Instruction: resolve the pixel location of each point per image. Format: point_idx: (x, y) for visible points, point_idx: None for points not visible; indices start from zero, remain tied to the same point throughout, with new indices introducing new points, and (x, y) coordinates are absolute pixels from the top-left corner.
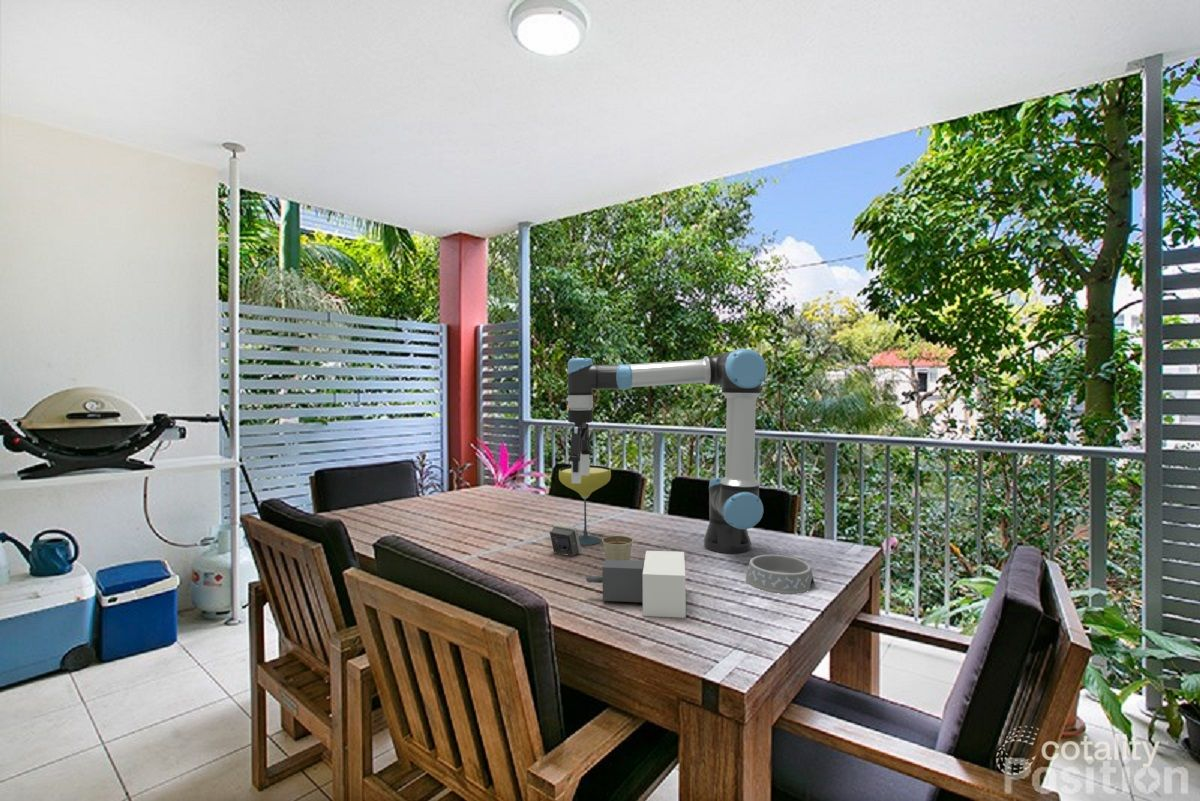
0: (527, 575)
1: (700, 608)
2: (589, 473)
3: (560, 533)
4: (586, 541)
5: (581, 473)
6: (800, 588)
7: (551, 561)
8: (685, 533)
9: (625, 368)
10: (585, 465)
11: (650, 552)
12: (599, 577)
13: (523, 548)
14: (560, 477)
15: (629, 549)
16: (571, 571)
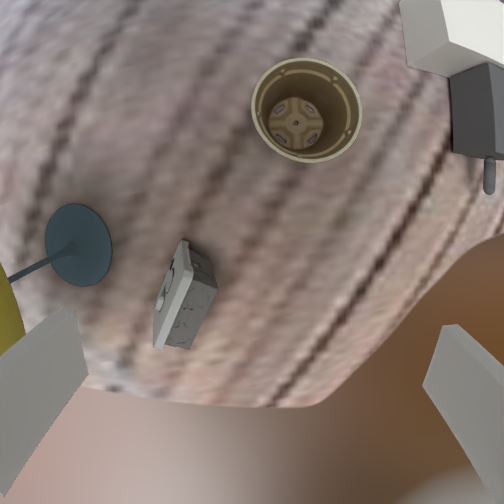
0: (351, 334)
1: None
2: (52, 314)
3: (201, 317)
4: (94, 240)
5: (81, 376)
6: None
7: (253, 305)
8: (24, 25)
9: None
10: (35, 388)
11: (458, 35)
12: (495, 166)
13: (166, 380)
14: None
15: (320, 77)
16: (325, 242)
